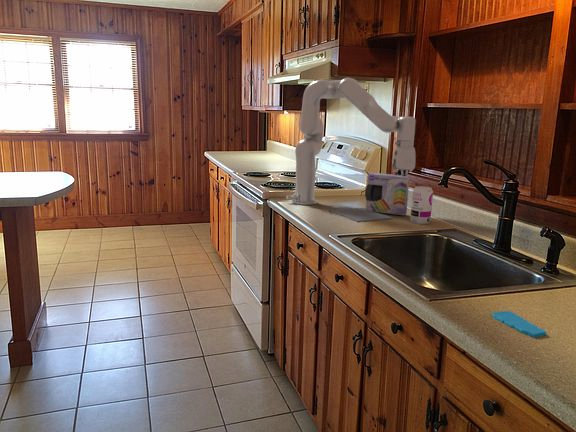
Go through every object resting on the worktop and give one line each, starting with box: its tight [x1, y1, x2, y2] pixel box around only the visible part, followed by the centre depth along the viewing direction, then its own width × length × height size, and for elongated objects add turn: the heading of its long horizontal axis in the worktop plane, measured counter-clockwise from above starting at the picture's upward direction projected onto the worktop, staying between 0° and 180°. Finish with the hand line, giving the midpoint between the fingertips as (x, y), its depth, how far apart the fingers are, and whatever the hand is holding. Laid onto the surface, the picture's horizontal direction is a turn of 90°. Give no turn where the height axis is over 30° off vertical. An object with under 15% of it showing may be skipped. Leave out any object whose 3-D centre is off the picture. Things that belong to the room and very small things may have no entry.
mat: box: [330, 207, 394, 223], centre depth 216 cm, size 18×22×1 cm
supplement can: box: [409, 185, 434, 225], centre depth 205 cm, size 8×8×15 cm
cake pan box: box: [364, 172, 410, 216], centre depth 220 cm, size 19×5×18 cm, turn 62°
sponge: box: [490, 310, 547, 338], centre depth 109 cm, size 2×12×6 cm
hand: (401, 184), depth 223 cm, fingers closed
